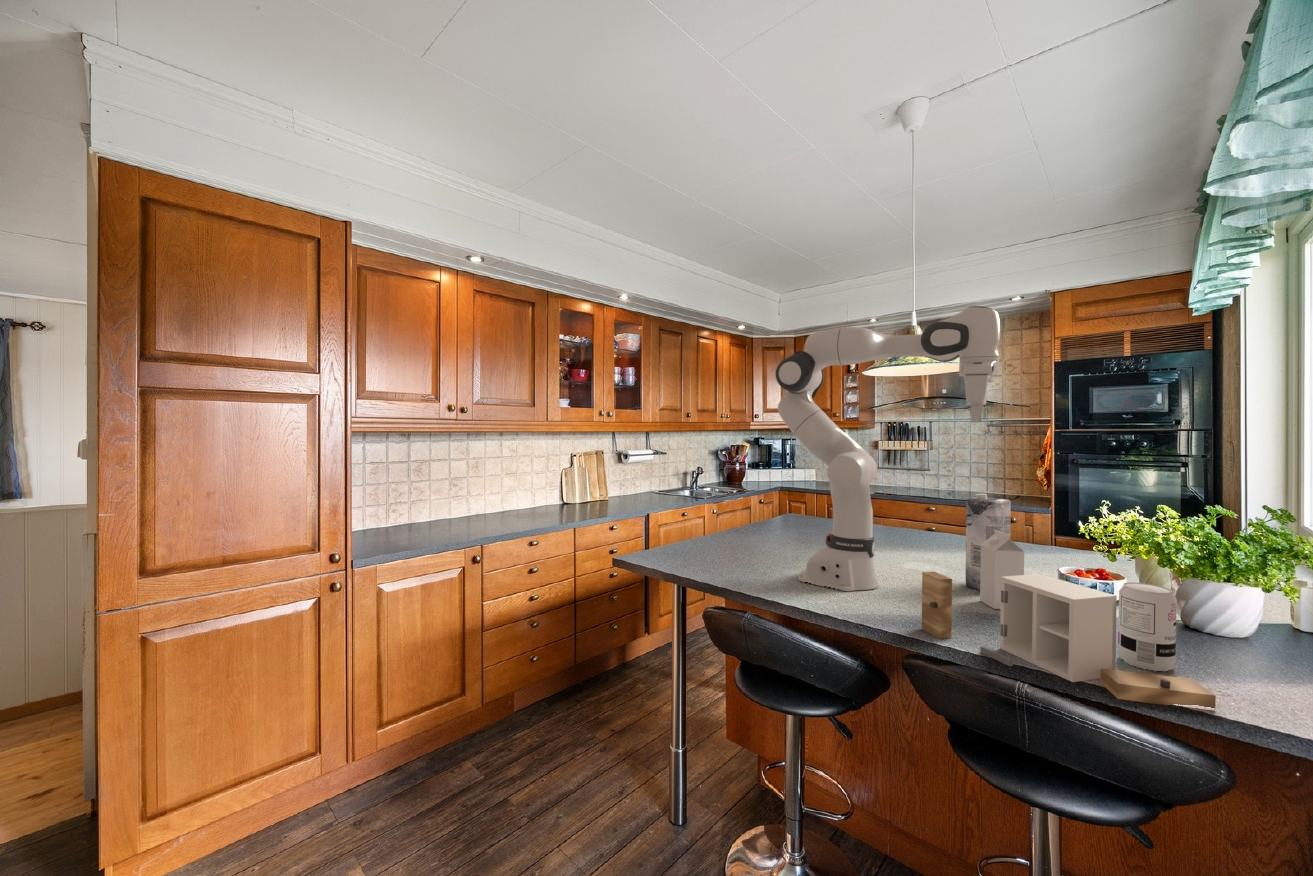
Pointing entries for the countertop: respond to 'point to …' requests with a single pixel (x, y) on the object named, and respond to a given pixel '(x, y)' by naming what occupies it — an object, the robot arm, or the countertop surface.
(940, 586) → the oak door
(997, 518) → the juice carton
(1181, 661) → the countertop surface
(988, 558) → the milk carton
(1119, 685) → the door
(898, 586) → the countertop surface
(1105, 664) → the carcass
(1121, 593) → the supplement can
